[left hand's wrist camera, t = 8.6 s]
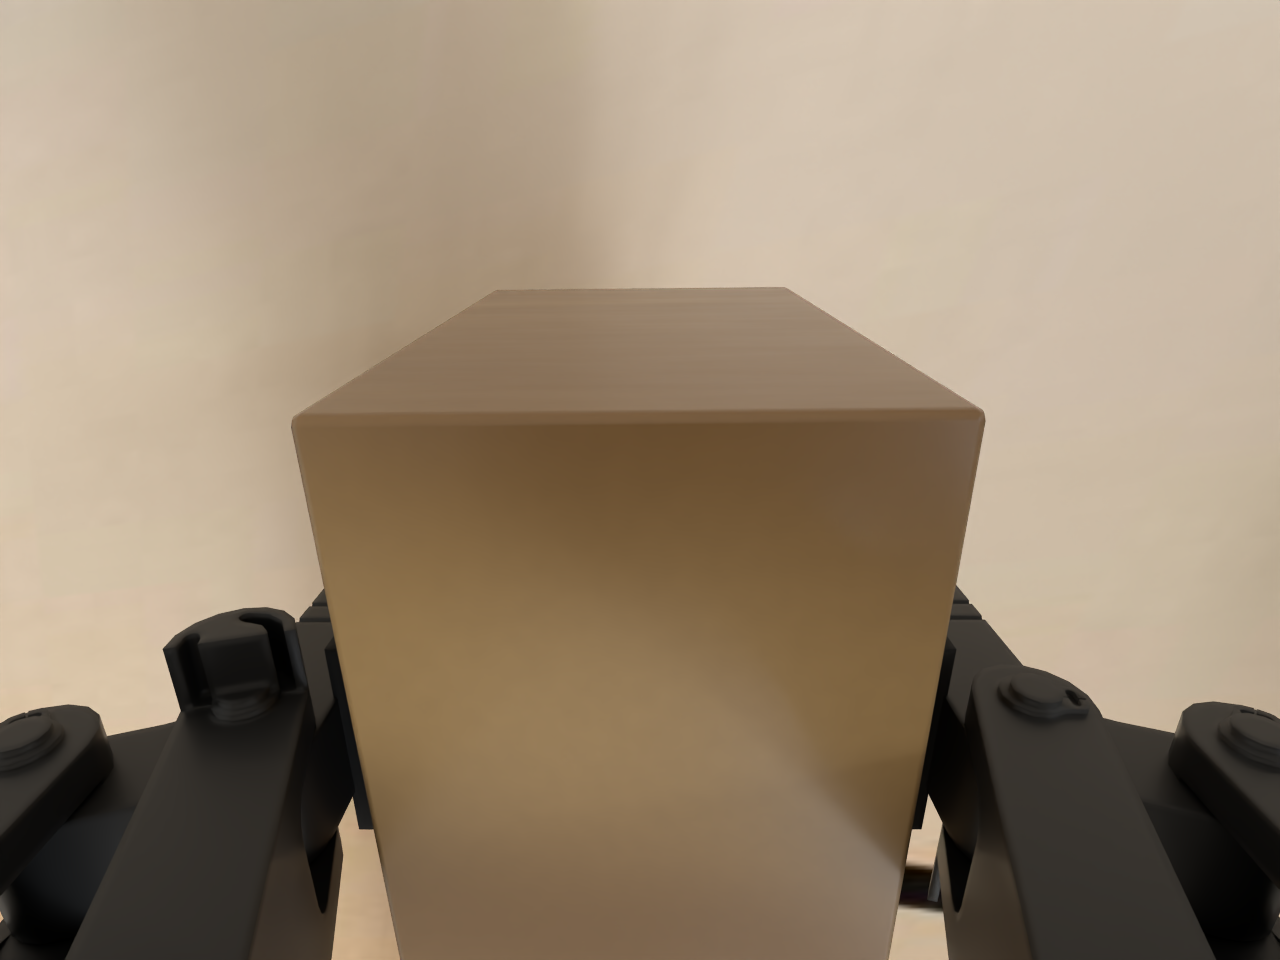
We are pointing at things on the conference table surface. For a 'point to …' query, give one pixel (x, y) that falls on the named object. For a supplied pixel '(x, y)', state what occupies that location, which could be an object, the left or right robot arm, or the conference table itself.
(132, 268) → the conference table surface
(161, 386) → the conference table surface
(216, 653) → the left robot arm
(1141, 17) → the conference table surface
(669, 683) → the beam
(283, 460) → the conference table surface
